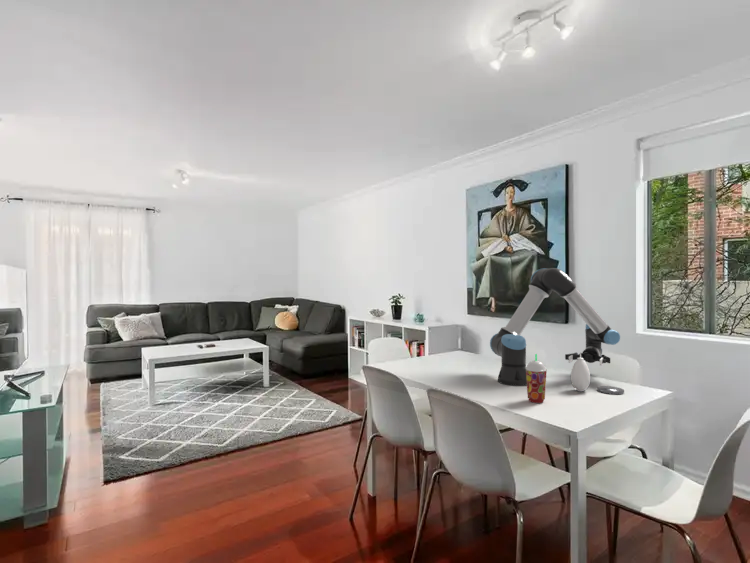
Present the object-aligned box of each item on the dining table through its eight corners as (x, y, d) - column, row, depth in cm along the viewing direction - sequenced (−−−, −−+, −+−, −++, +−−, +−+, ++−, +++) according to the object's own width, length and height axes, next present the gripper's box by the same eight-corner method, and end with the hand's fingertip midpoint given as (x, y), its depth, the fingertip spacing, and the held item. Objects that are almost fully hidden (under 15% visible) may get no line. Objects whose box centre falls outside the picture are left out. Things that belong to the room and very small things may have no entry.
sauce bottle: (593, 392, 195) (593, 352, 195) (581, 394, 192) (581, 354, 192) (579, 388, 203) (579, 350, 203) (567, 390, 199) (567, 351, 199)
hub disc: (620, 395, 189) (620, 393, 189) (593, 391, 197) (593, 388, 197) (627, 391, 197) (627, 388, 197) (601, 387, 204) (601, 384, 204)
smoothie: (537, 397, 186) (537, 352, 186) (551, 403, 178) (551, 355, 178) (521, 399, 183) (521, 353, 183) (534, 404, 175) (534, 356, 175)
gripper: (618, 364, 216) (614, 371, 199) (565, 359, 230) (557, 366, 213) (618, 349, 216) (614, 355, 199) (565, 345, 230) (556, 351, 213)
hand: (584, 361), depth 205 cm, fingers open, 13 cm apart
